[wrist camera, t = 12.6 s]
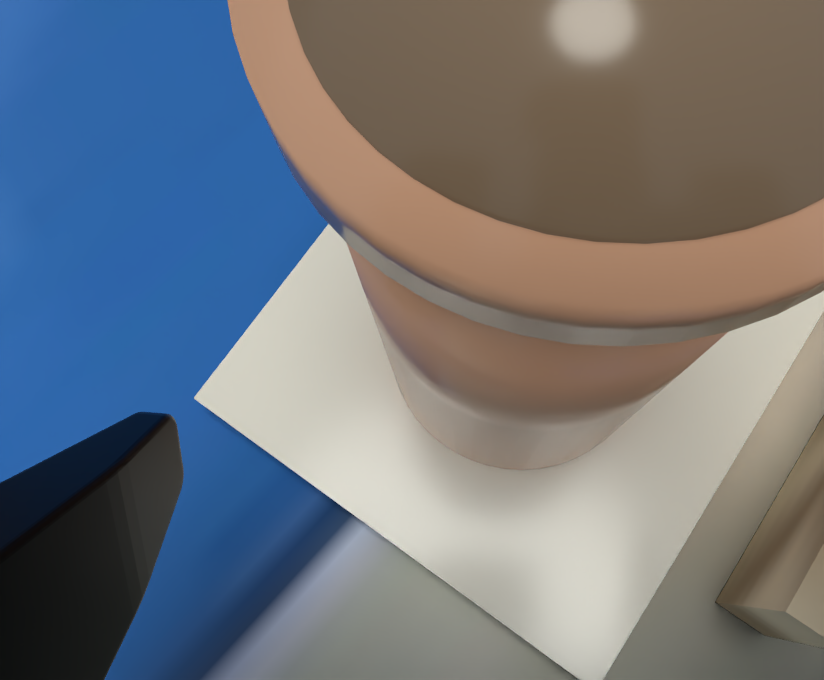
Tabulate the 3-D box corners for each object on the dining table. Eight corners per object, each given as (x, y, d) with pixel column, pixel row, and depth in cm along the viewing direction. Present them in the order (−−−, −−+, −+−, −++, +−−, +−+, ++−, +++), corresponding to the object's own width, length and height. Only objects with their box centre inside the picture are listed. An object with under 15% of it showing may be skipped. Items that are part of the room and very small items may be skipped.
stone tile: (588, 684, 17) (595, 691, 16) (207, 406, 20) (193, 397, 19) (825, 291, 19) (843, 277, 18) (455, 82, 22) (455, 60, 21)
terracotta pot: (720, 338, 18) (1228, -110, 6) (525, 546, 17) (675, 504, 5) (510, 163, 20) (587, -470, 8) (321, 345, 19) (64, -54, 7)
